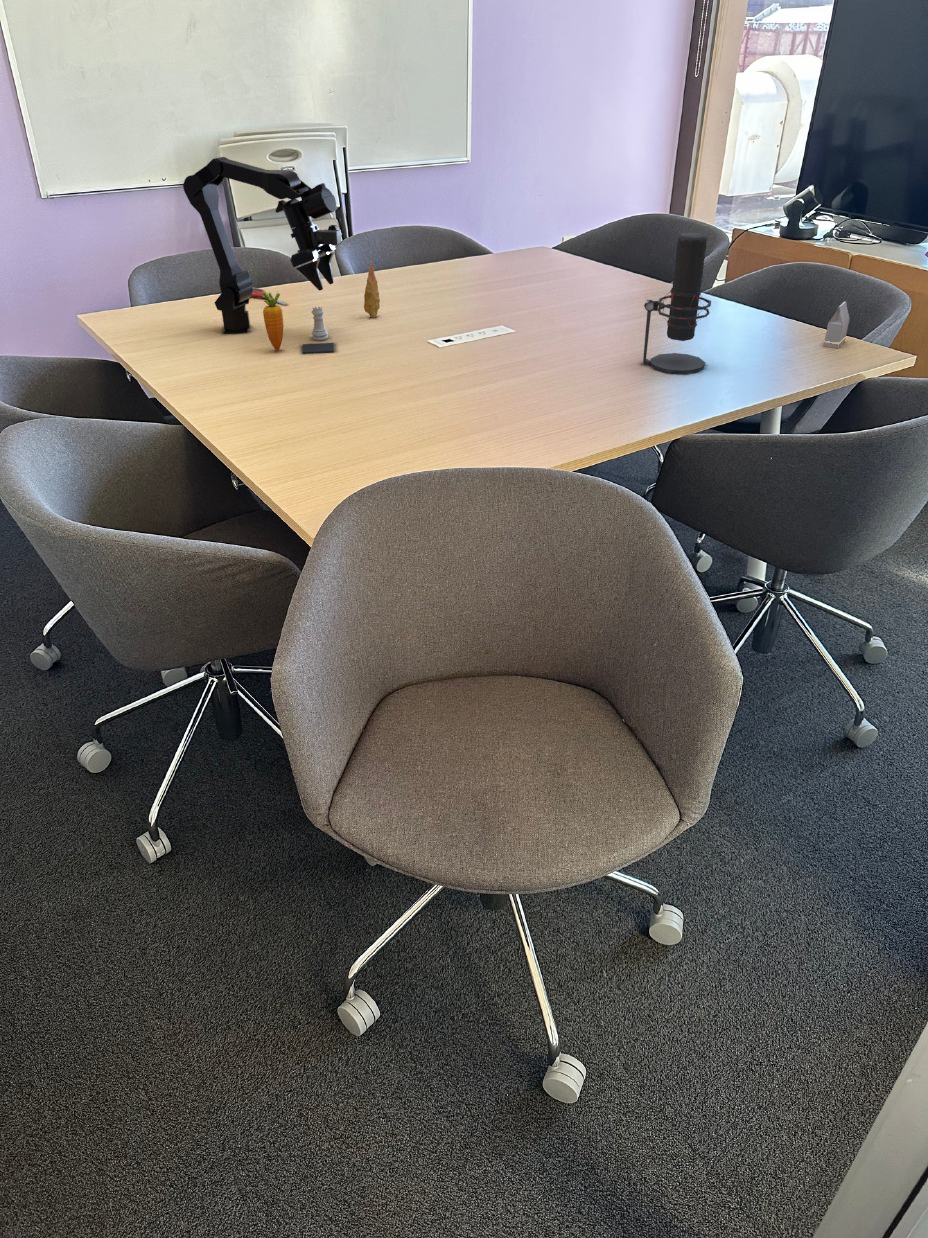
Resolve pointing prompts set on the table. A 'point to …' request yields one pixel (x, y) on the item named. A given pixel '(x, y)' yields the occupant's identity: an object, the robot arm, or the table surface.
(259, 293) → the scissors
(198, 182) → the robot arm
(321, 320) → the rook chess piece
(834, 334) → the grey pointed faceted piece
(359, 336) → the table surface
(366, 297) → the stone tool
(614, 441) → the table surface
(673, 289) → the microphone
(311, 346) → the coaster
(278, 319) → the carrot
